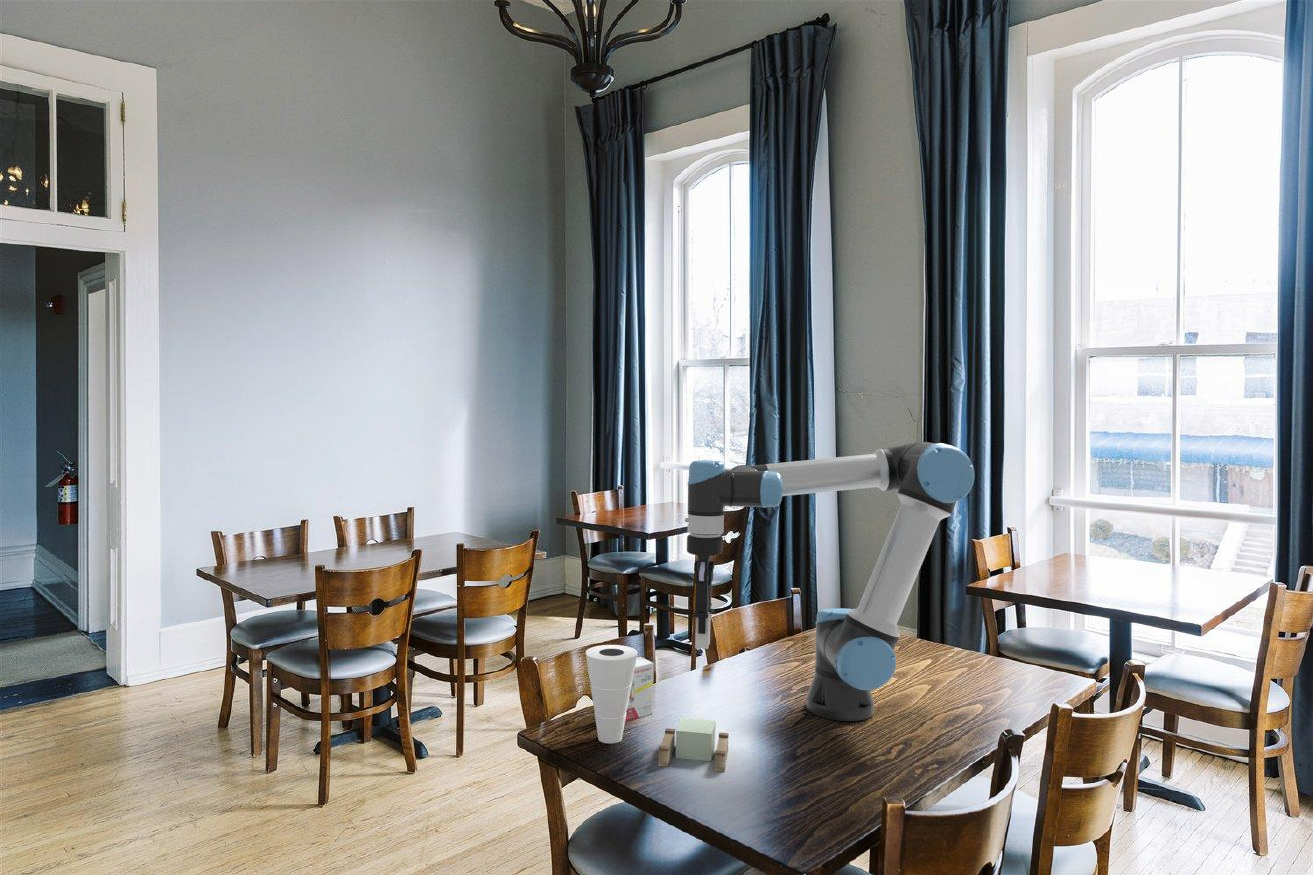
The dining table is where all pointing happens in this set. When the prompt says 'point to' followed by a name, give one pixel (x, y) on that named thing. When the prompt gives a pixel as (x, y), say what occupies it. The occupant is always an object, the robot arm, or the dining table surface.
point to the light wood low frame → (669, 744)
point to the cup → (610, 687)
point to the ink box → (641, 690)
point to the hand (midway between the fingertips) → (702, 645)
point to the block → (695, 739)
